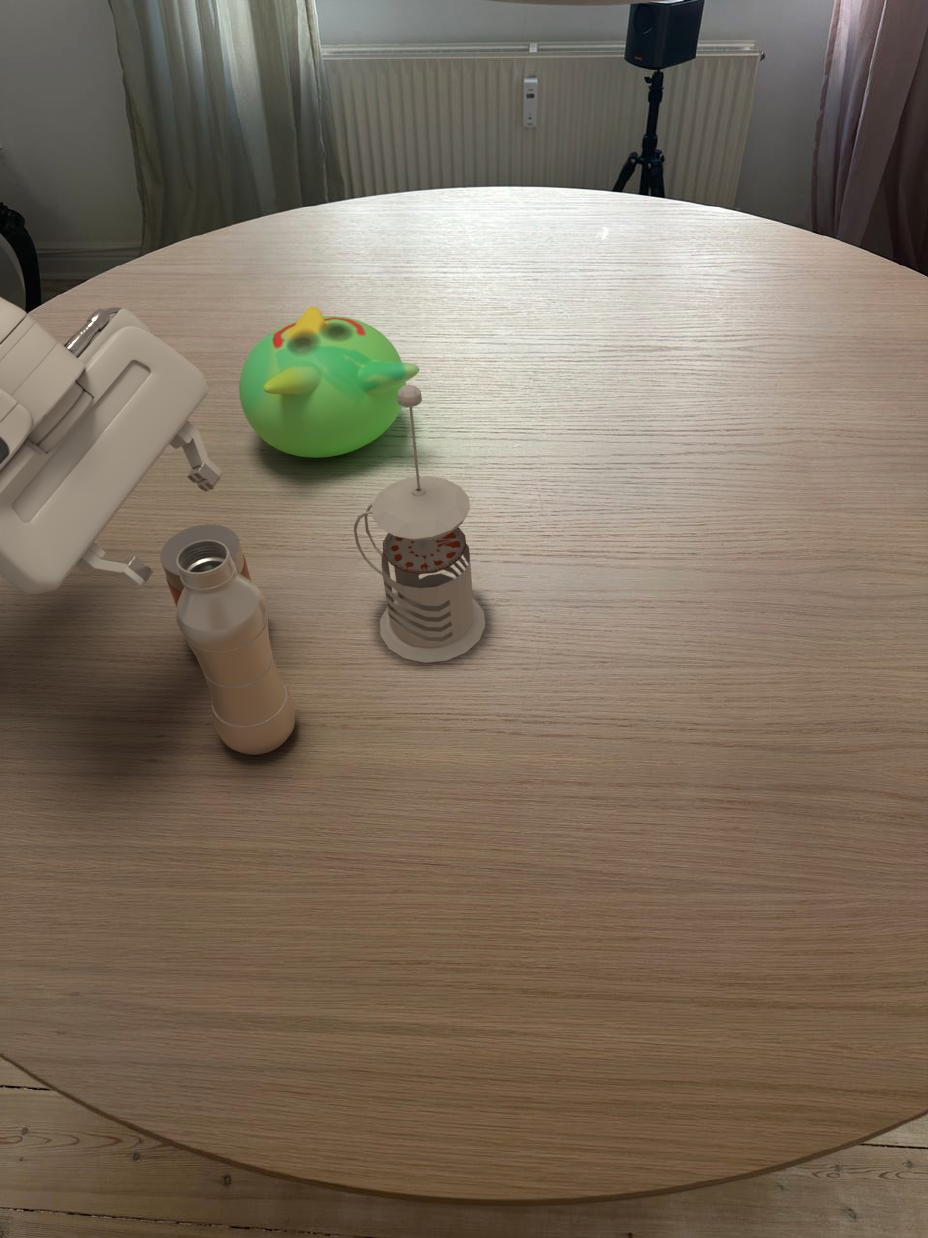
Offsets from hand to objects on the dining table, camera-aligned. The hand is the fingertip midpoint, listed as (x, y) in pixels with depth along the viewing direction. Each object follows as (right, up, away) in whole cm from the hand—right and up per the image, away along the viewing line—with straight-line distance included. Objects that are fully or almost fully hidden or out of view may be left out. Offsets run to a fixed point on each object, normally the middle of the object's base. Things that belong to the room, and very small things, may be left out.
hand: (180, 530), depth 72 cm
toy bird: (+6, +13, +40) cm, 42 cm away
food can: (-1, -8, +18) cm, 20 cm away
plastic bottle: (+4, -16, +11) cm, 20 cm away
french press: (+17, -7, +19) cm, 26 cm away
